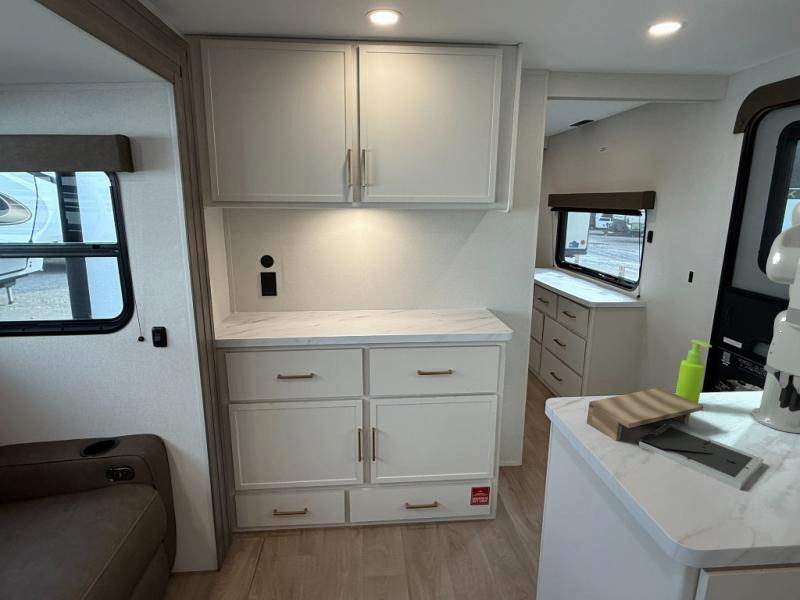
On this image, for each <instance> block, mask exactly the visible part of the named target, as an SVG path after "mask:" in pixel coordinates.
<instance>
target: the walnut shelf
mask: <svg viewBox="0 0 800 600" xmlns="http://www.w3.org/2000/svg"><path fill="white" fill-rule="evenodd" d="M703 409H704V405H702V404H699V403H698V404H697V403H695V402H693V401H690V400H688V399H686V398H683V397H681V396H679V395H676V393H674V392H671V391H669V390H667V389H665V388H662V387H657V388H652V389H651V388H650V389H645V390H641V391H637V392H631V393H627V394H621V395H617V396H611V397H606V398H601V399H596V400H592V401H589V402H588V409H587V419H586V424H587V425H589V426H590V427H592V428H594V429H595V430H597V431H599V432H601V433H602V434H603V435H605V436H607V437H609V438H611V440H613V441H615V442H616V441H620V440H621V436H622V428H623V426H624V427H626V428H628V429H631V428H636V427H639V426H642V425H647V424H651V423H655V422H660V421H663V420H664V421H665V420H668V419H671V418H673V419H675V420H677V421H679V422H681V423H683V424H687V423H689V420H690V415H691V414H692V413H697V412H700V411H703Z"/></svg>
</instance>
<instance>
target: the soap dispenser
mask: <svg viewBox="0 0 800 600" xmlns="http://www.w3.org/2000/svg"><path fill="white" fill-rule="evenodd" d="M689 342H690V343H693V344H692V347H691V348H692V349H690V350H688V351H687V352H688V353H687V357H686V359H684V360H681V362H680V366H679V372H678V377H677V384H676V389H675V394H676V395H679V396H681V397H683V398H686V399H688V400H690V401H693V402H695V403H697V404H699V401H700V395H701V390H702V384H703V381H704V380H703V379H704V374H705V370H706V369H705V368H706V365H705V364H704V363H702V357H703V352H702V351H700V348H701V346H702V347H704V348H706V349H707V348H712V347H713V346H712V345H711V344H710V343H708V342H706V341H703V340H700V339H690V341H689Z"/></svg>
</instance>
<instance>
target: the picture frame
mask: <svg viewBox="0 0 800 600" xmlns="http://www.w3.org/2000/svg"><path fill="white" fill-rule="evenodd" d="M638 447H639V448H641V447H642V449H643V450H646V449H647V451H648V450H649V452H650V451H652V452H651V453H653V452H655V453H657V454H660V455H662V456H664V457H666V458H665V459H667V458H668V459H667V460H669V459H670V461H671V460H673V461H672V462H674V461H675V462H674V463H676V462H677V463H676V464H678V463H679V464H678V465H681V466H684V467H685V466H686V467H685V468H688V469H690V470H693V471H695V472H697V473H700V474H702V475H704V476H706V477H708V478H711V479H712V480H713V479H714V480H716V481H718V482H721V483H722V484H725V485H727V486H730V487H732V488H733V489H734V488H735V489H737V490H739V491H741V489H743V487H744V486H745V485H746V483H748V481H749V480H750V479H751V478H752V477H753V476H754V474H756V472H758V470H759V469H760V468H761V467H762V466H763V462H764V458H763V457H759V456H757V455H754V454H751V453H749V452H746V451H744V450H741V449H738V448H735V447H733V446H730V445H728V444H725V443H722V442H720V441H718V440H717V441H716V440H714V439H711V438H709V437H707V436H703V435H700V434H698V433H695V432H694V431H693V432H692V431H690V430H687V429H685V428H682V427H680V426H676V425H674V424H672V423H668V422H667V423H665V424H663V425H662V426H661V427H659V428H658V429H655V430H654V431H653V432H649V433H647V434H645V435H643V436H642V437H640V438H639V441H638ZM655 453H654V454H655ZM657 454H656V455H657ZM660 455H659V456H660ZM662 456H661V457H662ZM664 457H663V458H664Z"/></svg>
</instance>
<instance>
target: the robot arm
mask: <svg viewBox="0 0 800 600" xmlns="http://www.w3.org/2000/svg"><path fill="white" fill-rule="evenodd" d="M766 261H767V262H766V267H765V272H766V276H767V278H768V279H769V280H770V281H772V282H774V283H777V284H784V285H789V291H788V297H789V302H788V306H787V310H782V311H780V312H779V313H778V314H777V315H776V317H775V318H774V324H773V337H772V340H771V343H770V346H769V348H768V353H767V358H766V363H765V365H764V366H763V369H764V370H765V371H766V372H767V373H766V377H765V383H764V387H763V391H762V396H761V400H760V405H759V407H758V408H757V407H756V408H753V409H752V410H751V413H750V416H751V417H752V419H753V420H755V421H756V422H757V423H760V424H762V425H764V426H766V427H769V428H771V429H774V430H778V431H782V432H787V433H793V434H800V202H798V203H796V204H795V205H794V207H793V209H792V212H791V226H790V227H788V228H787V229H785V230H783V231H782V232H781V233H779V234H778V235H777V237H776V238H775V239H774V240H773V242H772V245H771V248H770V251H769V254H768V257H767V260H766Z"/></svg>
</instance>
